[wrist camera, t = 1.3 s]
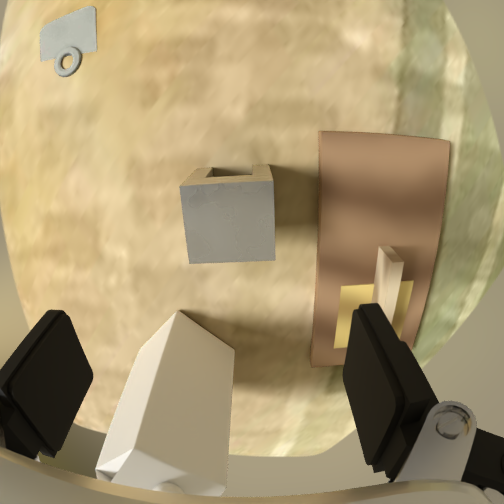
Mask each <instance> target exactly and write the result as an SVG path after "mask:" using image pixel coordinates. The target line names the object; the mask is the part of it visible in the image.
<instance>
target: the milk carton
mask: <svg viewBox="0 0 504 504" xmlns="http://www.w3.org/2000/svg"><path fill="white" fill-rule="evenodd" d="M234 358H235V350H234V349H233V348H231V347H230V346H228V345H227V344H225V343H224V342H223V341H221V340H220V339H218V338H217V337H215V336H214V335H212V334H211V333H209V332H208V331H207V330H205V329H204V328H202V327H201V326H199V325H198V324H197V323H195V322H194V321H192V320H191V319H190V318H188V317H187V316H185V315H184V314H183V313H181V312H180V311H176V312H175V313H174V314H173V315H172V316H171V317H170V318H169V319H168V320H167V321H166V322H165V323H164V324H163V325H162V326H161V328H160V329H159V330H158V331H157V332H156V333H155V334H154V335H153V336H152V337H151V338H150V339H149V340H148V341H147V342H146V343H145V344H144V345H143V346H142V347H141V348H140V350H139V352H138V355H137V357H136V360H135V362H134V365H133V367H132V370H131V372H130V375H129V377H128V380H127V382H126V385H125V388H124V390H123V393H122V395H121V398H120V401H119V403H118V406H117V409H116V411H115V414H114V417H113V420H112V422H111V425H110V428H109V431H108V434H107V437H106V439H105V442H104V445H103V448H102V451H101V454H100V457H99V460H98V463H97V466H96V469H95V471H96V475H97V479H98V480H102V481H107V482H111V483H116V484H120V485H125V486H131V487H136V488H142V489H148V490H155V491H162V492H170V493H178V494H189V495H201V496H218V497H220V496H221V494H222V493H223V492H224V490H225V489H226V484H227V468H228V452H229V436H230V419H231V404H232V388H233V373H234Z"/></svg>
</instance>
